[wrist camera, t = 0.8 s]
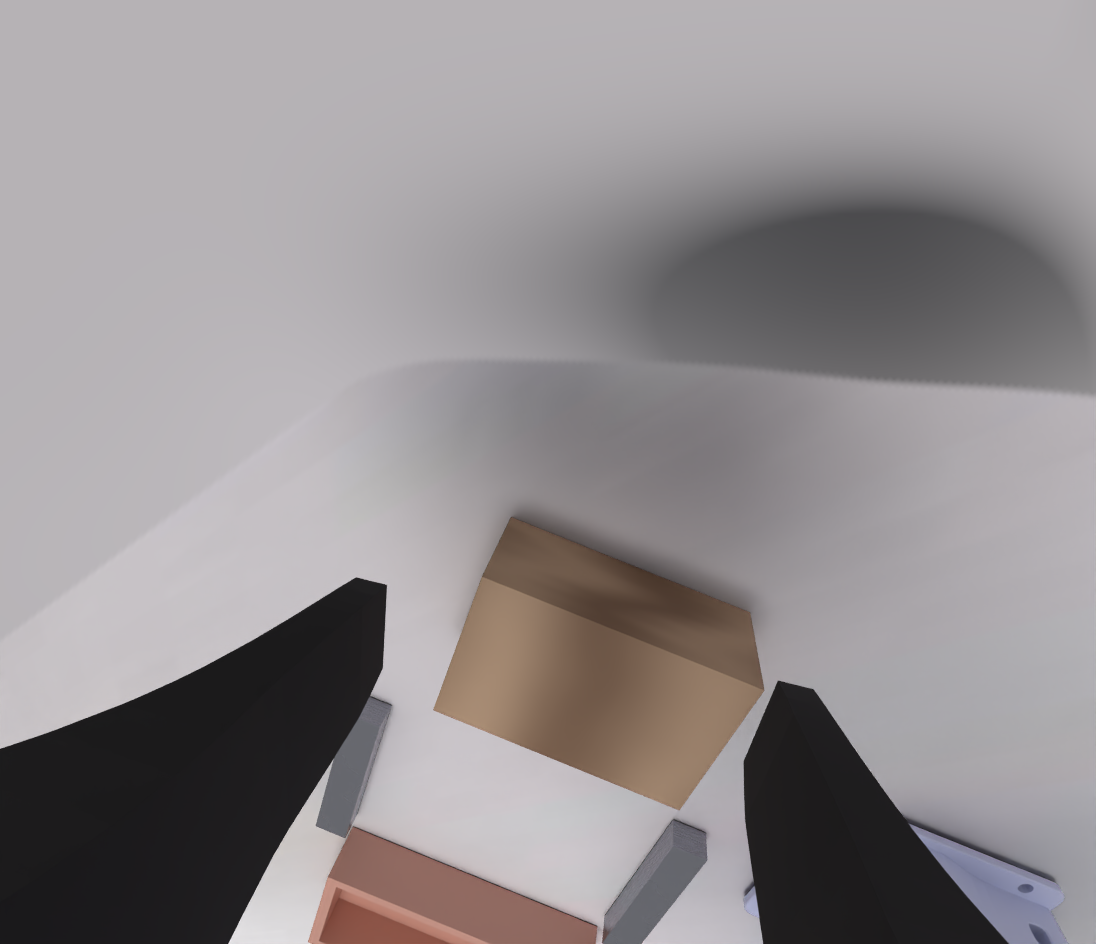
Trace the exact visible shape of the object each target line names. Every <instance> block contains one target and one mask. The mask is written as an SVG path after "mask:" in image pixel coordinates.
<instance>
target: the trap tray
mask: <svg viewBox="0 0 1096 944" xmlns="http://www.w3.org/2000/svg"><path fill="white" fill-rule="evenodd" d="M596 934H597V927H596V926H594V925H591V924H589V923H587V922H584V921H582V920H579V919H577V918H574V917H572V916H569V915H567V914H565V913H562V912H560V911H557V910H555V909H552V908H550V907H547V906H545V905H543V904H540V903H538V902H535V901H533V900H530V899H528V898H525V897H523V896H521V895H518V894H516V893H513V892H511V891H508V890H506V889H503V888H501V887H499V886H496V885H494V884H491V883H489V882H486V881H484V880H481V879H479V878H477V877H474V876H472V875H469V874H467V873H464V872H462V871H459V870H457V869H455V868H452V867H450V866H447V865H445V864H442V863H440V862H437V861H435V860H433V859H430V858H428V857H425V856H423V855H420V854H418V853H415V852H413V851H411V850H408V849H406V848H403V847H401V846H398V845H396V844H393V843H391V842H389V841H386V840H384V839H381V838H379V837H376V836H374V835H371V834H369V833H367V832H364V831H362V830H359V829H357V828H354V827H353V828H352V830H351V832H350V834H349V836H348V838H347V840H346V842H345V844H344V846H343V848H342V850H341V852H340V854H339V856H338V858H337V860H336V862H335V864H334V866H333V868H332V870H331V872H330V874H329V876H328V878H327V882H326V885H325V888H324V892H323V895H322V898H321V901H320V905H319V908H318V911H317V914H316V918H315V921H314V924H313V927H312V931H311V934H310V937H309V940H308V942H309V943H311V944H596Z"/></svg>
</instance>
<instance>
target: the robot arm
mask: <svg viewBox="0 0 1096 944" xmlns="http://www.w3.org/2000/svg"><path fill="white" fill-rule="evenodd" d="M386 593H387V585H385V584H381V583H377V582H372V581H368V580H364V579H360V578H354V579H353V580H351V581H349V582H348V583H346V584H344V585H343V586H341V587H339V588H338V589H336V590H335V591H333V592H331V593H330V594H328V595H327V596H325V597H323V598H322V599H320V600H319V601H317V602H315V603H314V604H312V605H311V606H309V607H307V608H306V609H304V610H302V611H301V612H299V613H298V614H296V615H294V616H293V617H291V618H289V619H288V620H286V621H284V622H283V623H281V624H279V625H278V626H276V627H274V628H273V629H271V630H269V631H268V632H266V633H264V634H263V635H261V636H259V637H258V638H256V639H254V640H252V641H251V642H249V643H247V644H245V645H243V646H241V647H240V648H238V649H236V650H234V651H232V652H230V653H228V654H227V655H225V656H223V657H221V658H219V659H217V660H216V661H214V662H212V663H210V664H208V665H206V666H204V667H202V668H200V669H198V670H196V671H194V672H192V673H190V674H188V675H186V676H184V677H182V678H180V679H178V680H176V681H174V682H172V683H169V684H167V685H165V686H163V687H161V688H158V689H156V690H154V691H152V692H149V693H147V694H145V695H143V696H141V697H138V698H136V699H134V700H131V701H129V702H127V703H124V704H122V705H119V706H117V707H114V708H111V709H109V710H106V711H104V712H101V713H98V714H96V715H93V716H91V717H88V718H85V719H83V720H80V721H78V722H75V723H73V724H70V725H67V726H65V727H62V728H60V729H57V730H54V731H52V732H49V733H46V734H43V735H40V736H37V737H34V738H31V739H28V740H25V741H22V742H19V743H16V744H14V745H11V746H8V747H5V748H1V749H0V944H228V943H229V941H230V939H231V937H232V935H233V933H234V931H235V929H236V927H237V925H238V923H239V921H240V919H241V917H242V915H243V913H244V911H245V909H246V907H247V905H248V903H249V901H250V900H251V898H252V896H253V894H254V892H255V890H256V888H257V886H258V884H259V882H260V880H261V878H262V876H263V874H264V872H265V871H266V869H267V867H268V865H269V863H270V861H271V859H272V857H273V855H274V853H275V852H276V850H277V848H278V847H279V845H280V843H281V842H282V840H283V838H284V836H285V835H286V833H287V831H288V830H289V828H290V826H291V825H292V823H293V822H294V820H295V818H296V817H297V815H298V814H299V812H300V811H301V809H302V807H303V806H304V804H305V803H306V801H307V800H308V798H309V796H310V795H311V793H312V792H313V790H314V789H315V787H316V785H317V784H318V782H319V781H320V779H321V778H322V776H323V774H324V773H325V771H326V770H327V768H328V767H329V765H330V763H331V762H332V760H333V759H334V757H335V756H336V754H337V752H338V751H339V749H340V748H341V746H342V744H343V743H344V741H345V740H346V738H347V736H348V735H349V733H350V732H351V730H352V728H353V727H354V725H355V724H356V722H357V720H358V719H359V717H360V715H361V713H362V711H363V709H364V707H365V705H366V703H367V701H368V699H369V697H370V695H371V692H372V690H373V688H374V686H375V684H376V682H377V679H378V677H379V675H380V673H381V671H382V669H383V652H384V632H385V613H386ZM744 801H745V822H746V830H747V837H748V844H749V851H750V858H751V865H752V872H753V878H754V885H755V886H754V887H753V888H752V889H751V890H750V891H749V892H748V894H747V895H746V896H745V897H744V908H745V910H746V911H747V912H748V913H749V914H751V915H754V916H756V917H758V918H760V925H761V932H762V938H763V944H1068V942H1067V940H1066V938H1065V937H1064V935H1063V933H1062V931H1061V929H1060V927H1059V925H1058V923H1057V921H1056V920H1055V918H1054V916H1053V914H1052V912H1051V910H1053V909H1054V908H1055V907H1056V906H1058V905H1059V904H1060V903H1062V901H1063V900H1064V894H1063V892H1062V890H1061V888H1060V887H1059V885H1058V884H1056V883H1055V882H1052V881H1050V880H1047V879H1045V878H1042V877H1040V876H1037V875H1035V874H1032V873H1030V872H1027V871H1025V870H1022V869H1020V868H1017V867H1015V866H1013V865H1010V864H1008V863H1005V862H1003V861H1000V860H998V859H995V858H993V857H990V856H988V855H985V854H983V853H980V852H978V851H975V850H973V849H970V848H968V847H965V846H963V845H960V844H958V843H955V842H953V841H951V840H948V839H946V838H943V837H941V836H938V835H936V834H933V833H931V832H928V831H926V830H923V829H921V828H918V827H916V826H913V825H911V824H908V822H907V821H906V820H905V818H904V817H903V816H902V814H901V813H900V812H899V810H898V809H897V808H896V806H895V805H894V804H893V802H892V801H891V800H890V798H889V797H888V796H887V794H886V793H885V791H884V790H883V789H882V787H881V786H880V784H879V783H878V782H877V780H876V779H875V778H874V776H873V775H872V773H871V772H870V770H869V769H868V768H867V766H866V765H865V763H864V762H863V760H862V759H861V758H860V756H859V755H858V753H857V752H856V750H855V749H854V747H853V746H852V745H851V743H850V742H849V740H848V739H847V737H846V736H845V734H844V733H843V731H842V730H841V728H840V727H839V726H838V724H837V723H836V721H835V720H834V718H833V717H832V715H831V714H830V712H829V711H828V709H827V708H826V706H825V705H824V704H823V702H822V701H821V699H820V698H819V696H818V695H817V694H816V692H815V691H814V689H810V688H806V687H802V686H798V685H793V684H789V683H785V682H781V681H778V682H777V684H776V687H775V689H774V691H773V694H772V696H771V698H770V701H769V703H768V706H767V708H766V710H765V713H764V715H763V717H762V720H761V722H760V724H759V727H758V729H757V731H756V734H755V736H754V738H753V741H752V743H751V745H750V748H749V750H748V753H747V755H746V757H745V760H744Z"/></svg>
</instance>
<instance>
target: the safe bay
mask: <svg viewBox="0 0 1096 944" xmlns="http://www.w3.org/2000/svg"><path fill="white" fill-rule="evenodd" d="M390 709H391V705H389V704H386V703H384V702H381V701H379V700H376V699H374V698H371V697H369V699H368V701H367V703H366V705H365V707H364V709H363V711H362V713H361V715H360V717H359V719H358V720H357V722H356V724H355V725H354V727H353V728H352V730H351V732H350V733H349V735H348V736H347V738H346V740H345V741H344V743H343V744H342V746H341V748H340V749H339V751H338V752H337V754H336V756H335V757H334V761H333V764H332V768H331V772H330V775H329V779H328V783H327V786H326V790H325V794H324V797H323V801H322V805H321V808H320V812H319V816H318V819H317V823H316V826H317V827H319V828H322V829H324V830H327V831H329V832H331V833H334V834H336V835H339V836H341V837H344V838H345V837H346V835H347V833H348V831H349V829H350V827H351V825H352V823H353V821H354V819H355V817H356V815H357V813H358V809H359V806H360V803H361V800H362V797H363V794H364V791H365V787H366V784H367V781H368V778H369V775H370V772H371V769H372V765H373V762H374V759H375V756H376V753H377V750H378V747H379V743H380V740H381V737H382V734H383V731H384V728H385V725H386V722H387V718H388V715H389V712H390ZM706 861H707V847H706V833H704V832H702V831H699V830H697V829H695V828H692V827H690V826H687V825H685V824H682V823H680V822H677V821H675V820H672V822H671V823H670V825H669V826H668V828H667V829H666V830H665V832H664V833H663V835H662V836H661V837H660V839H659V840H658V842H657V843H656V844H655V846H654V847H653V849H652V850H651V852H650V853H649V854H648V856H647V857H646V859H645V860H644V861H643V863H642V864H641V866H640V867H639V869H638V870H637V871H636V873H635V874H634V876H633V877H632V878H631V880H630V881H629V883H628V884H627V885H626V887H625V888H624V890H623V891H622V893H621V894H620V895H619V897H618V898H617V900H616V901H615V902H614V904H613V905H612V907H611V908H610V909H609V911H608V912H607V914H606V915H605V918H604V929H603V940H602V943H603V944H642V942H643V941H644V940H645V939H646V937H647V936H648V935H649V933H650V932H651V931H652V930H653V928H654V927H655V926H656V925H657V923H658V922H659V921H660V920H661V918H662V917H663V916H664V914H665V913H666V912H667V911H668V909H669V908H670V907H671V906H672V904H673V903H674V902H675V901H676V899H677V898H678V897H679V895H680V894H681V893H682V892H683V890H684V889H685V888H686V887H687V885H688V884H689V883H690V882H691V880H692V879H693V878H694V876H695V875H696V874H697V873H698V871H699V870H700V869H701V868H702V866H703V865H704V864H705V863H706Z"/></svg>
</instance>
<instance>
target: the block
mask: <svg viewBox="0 0 1096 944" xmlns="http://www.w3.org/2000/svg"><path fill="white" fill-rule="evenodd" d="M763 692H764V686H763V680H762V675H761V669H760V664H759V658H758V653H757V648H756V642H755V637H754V631H753V626H752V620H751V615H750V612H747V611H745V610H742V609H740V608H737V607H735V606H732V605H730V604H727V603H725V602H722V601H720V600H717V599H715V598H712V597H710V596H707V595H705V594H702V593H700V592H697V591H695V590H692V589H690V588H687V587H685V586H682V585H680V584H677V583H675V582H672V581H670V580H667V579H665V578H662V577H660V576H657V575H655V574H652V573H650V572H647V571H645V570H642V569H640V568H637V567H635V566H632V565H630V564H627V563H625V562H622V561H620V560H617V559H615V558H612V557H610V556H607V555H605V554H602V553H600V552H597V551H595V550H592V549H590V548H587V547H585V546H582V545H580V544H577V543H575V542H572V541H570V540H567V539H565V538H562V537H560V536H557V535H555V534H552V533H550V532H547V531H545V530H542V529H540V528H537V527H535V526H532V525H529V524H527V523H524V522H522V521H519V520H517V519H514V518H512V517H511V518H510V520H509V523H508V525H507V527H506V529H505V531H504V533H503V535H502V537H501V539H500V541H499V543H498V545H497V547H496V549H495V551H494V553H493V555H492V557H491V559H490V561H489V563H488V565H487V567H486V569H485V571H484V573H483V576H482V578H481V581H480V583H479V586H478V589H477V592H476V594H475V597H474V600H473V603H472V605H471V608H470V611H469V613H468V616H467V619H466V622H465V624H464V627H463V630H462V633H461V635H460V638H459V641H458V644H457V646H456V649H455V652H454V655H453V657H452V660H451V663H450V666H449V668H448V671H447V674H446V676H445V679H444V682H443V685H442V687H441V690H440V693H439V696H438V698H437V701H436V704H435V707H434V709H433V710H434V711H436V712H439V713H441V714H444V715H446V716H449V717H451V718H454V719H456V720H459V721H461V722H464V723H466V724H468V725H471V726H473V727H476V728H478V729H481V730H483V731H486V732H488V733H491V734H493V735H495V736H498V737H500V738H503V739H505V740H508V741H510V742H513V743H515V744H518V745H520V746H522V747H525V748H527V749H530V750H532V751H535V752H537V753H540V754H542V755H545V756H547V757H549V758H552V759H554V760H557V761H559V762H562V763H564V764H567V765H569V766H572V767H574V768H577V769H579V770H581V771H584V772H586V773H589V774H591V775H594V776H596V777H599V778H601V779H604V780H606V781H608V782H611V783H613V784H616V785H618V786H621V787H623V788H626V789H628V790H631V791H633V792H635V793H638V794H640V795H643V796H645V797H648V798H650V799H653V800H655V801H658V802H660V803H662V804H665V805H667V806H670V807H672V808H675V809H677V810H680V809H681V807H682V806H683V804H684V803H685V802H686V800H687V799H688V797H689V796H690V795H691V793H692V792H693V790H694V789H695V787H696V786H697V785H698V783H699V782H700V780H701V779H702V778H703V776H704V775H705V773H706V772H707V771H708V769H709V768H710V766H711V765H712V763H713V762H714V761H715V759H716V758H717V756H718V755H719V754H720V752H721V751H722V749H723V748H724V747H725V745H726V744H727V742H728V741H729V740H730V738H731V737H732V735H733V734H734V732H735V731H736V730H737V728H738V727H739V725H740V724H741V723H742V721H743V720H744V718H745V717H746V716H747V714H748V713H749V711H750V710H751V708H752V707H753V706H754V704H755V703H756V701H757V700H758V699H759V697H760V696H761V694H762V693H763Z"/></svg>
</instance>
